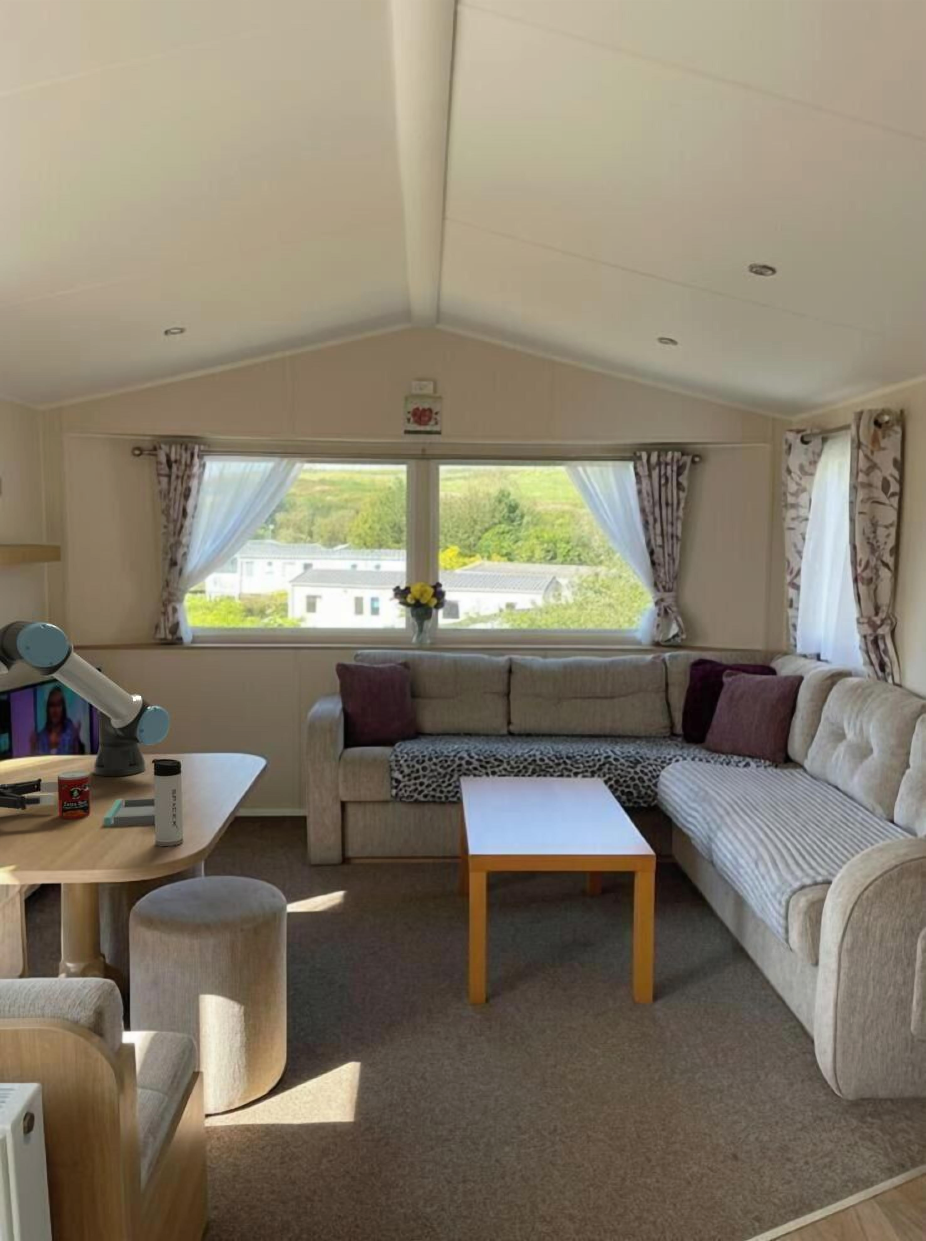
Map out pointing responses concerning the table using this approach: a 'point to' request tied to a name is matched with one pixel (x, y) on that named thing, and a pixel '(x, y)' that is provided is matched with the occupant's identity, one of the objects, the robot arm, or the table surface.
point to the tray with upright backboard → (131, 812)
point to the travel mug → (168, 802)
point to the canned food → (74, 794)
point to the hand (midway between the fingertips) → (61, 792)
